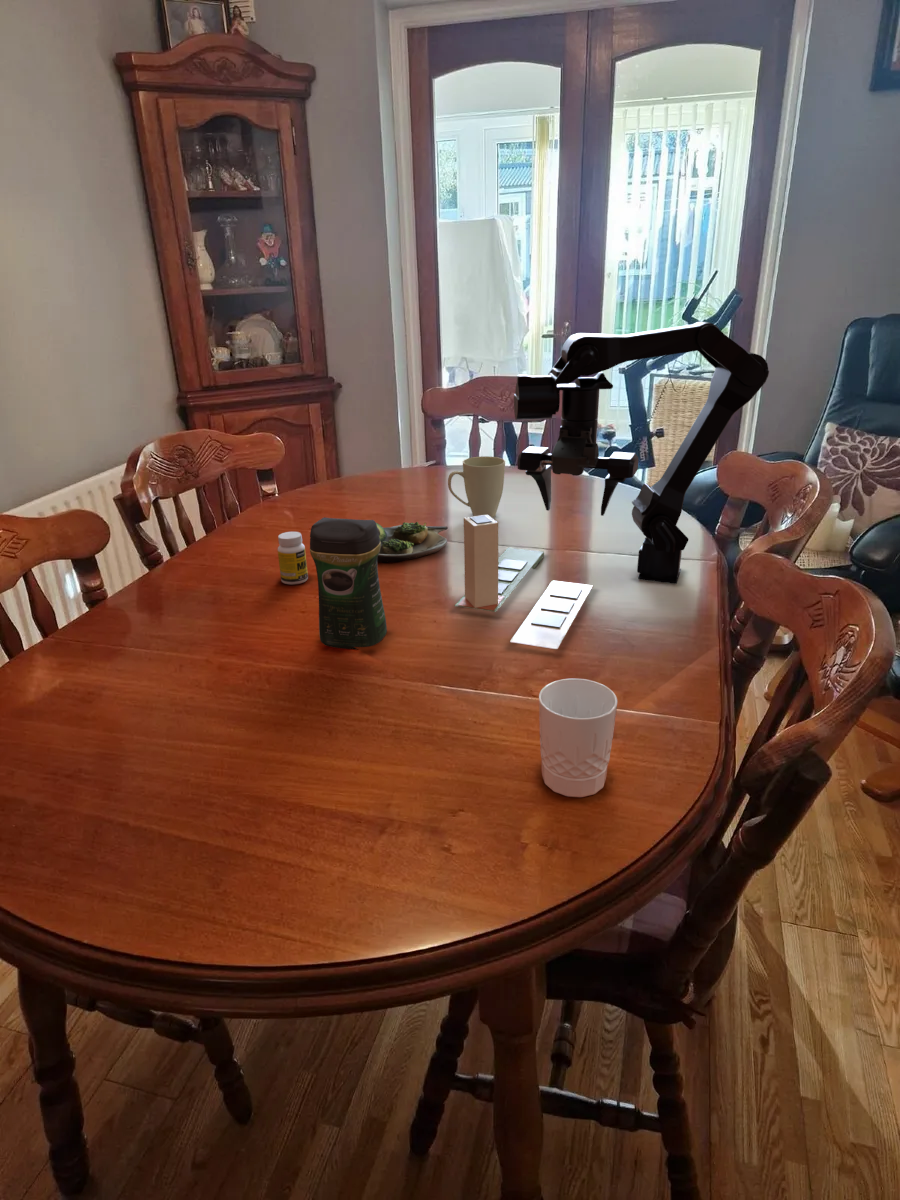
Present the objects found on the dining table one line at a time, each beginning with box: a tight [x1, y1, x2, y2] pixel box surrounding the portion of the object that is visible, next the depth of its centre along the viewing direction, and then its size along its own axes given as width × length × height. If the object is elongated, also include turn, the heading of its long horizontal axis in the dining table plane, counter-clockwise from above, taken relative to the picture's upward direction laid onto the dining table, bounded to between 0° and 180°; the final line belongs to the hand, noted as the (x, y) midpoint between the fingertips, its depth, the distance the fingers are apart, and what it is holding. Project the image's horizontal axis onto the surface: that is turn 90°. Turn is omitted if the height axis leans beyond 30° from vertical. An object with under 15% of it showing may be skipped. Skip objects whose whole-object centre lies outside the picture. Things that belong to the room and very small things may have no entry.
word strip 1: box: [454, 546, 545, 613], centre depth 130 cm, size 28×7×1 cm, turn 158°
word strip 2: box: [509, 579, 594, 651], centre depth 117 cm, size 24×7×1 cm, turn 158°
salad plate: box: [376, 521, 449, 564], centre depth 147 cm, size 19×18×5 cm
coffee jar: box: [309, 516, 388, 651], centre depth 108 cm, size 10×8×19 cm
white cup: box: [538, 677, 618, 798], centre depth 79 cm, size 8×8×10 cm
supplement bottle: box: [277, 531, 309, 586], centre depth 131 cm, size 5×5×8 cm
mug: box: [447, 455, 506, 519], centre depth 161 cm, size 11×10×12 cm
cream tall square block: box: [463, 515, 499, 608], centre depth 118 cm, size 4×4×14 cm
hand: (575, 512), depth 126 cm, fingers open, 9 cm apart
